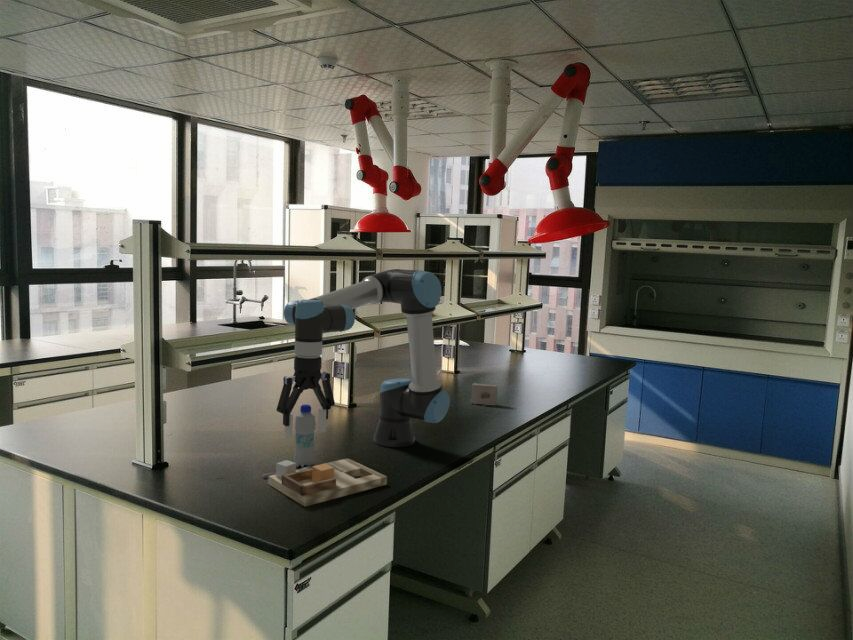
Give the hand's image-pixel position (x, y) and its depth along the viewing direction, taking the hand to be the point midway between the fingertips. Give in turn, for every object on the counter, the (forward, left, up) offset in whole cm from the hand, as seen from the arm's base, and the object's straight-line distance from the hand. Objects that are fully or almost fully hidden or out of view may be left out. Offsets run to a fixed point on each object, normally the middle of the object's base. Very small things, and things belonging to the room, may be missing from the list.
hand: (305, 433), depth 181 cm
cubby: (-2, 0, -15) cm, 15 cm away
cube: (-6, 0, -15) cm, 17 cm away
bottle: (-13, -21, -18) cm, 31 cm away
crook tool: (-2, -17, -18) cm, 25 cm away
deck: (-10, -3, -18) cm, 21 cm away
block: (0, -10, -15) cm, 18 cm away
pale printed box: (-126, -46, -18) cm, 135 cm away
